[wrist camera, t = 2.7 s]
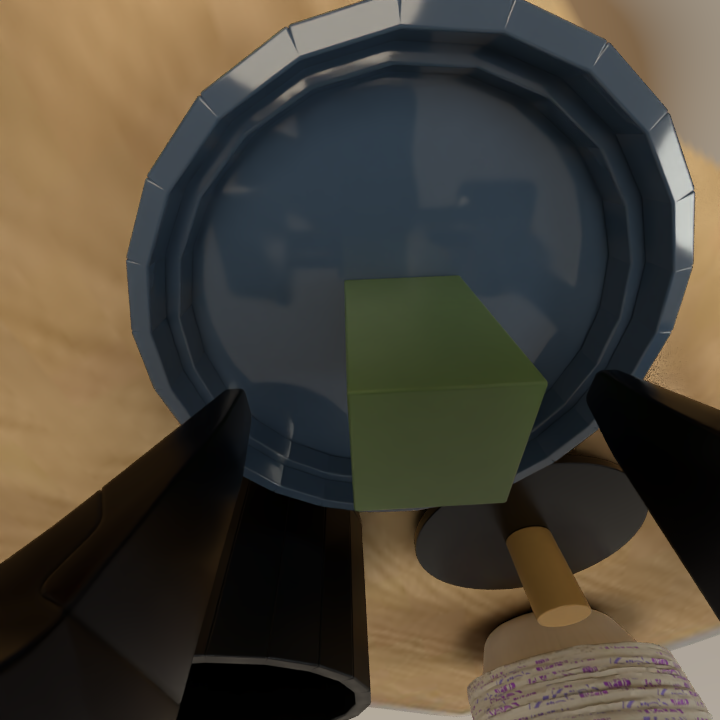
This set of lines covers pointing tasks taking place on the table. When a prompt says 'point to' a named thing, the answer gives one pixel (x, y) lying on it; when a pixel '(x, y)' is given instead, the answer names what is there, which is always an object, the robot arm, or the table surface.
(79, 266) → the table surface
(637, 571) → the table surface
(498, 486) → the green block
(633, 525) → the tin lid
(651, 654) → the paper bowls
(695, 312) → the table surface
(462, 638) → the table surface
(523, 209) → the blue-grey round rimmed part
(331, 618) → the tin
